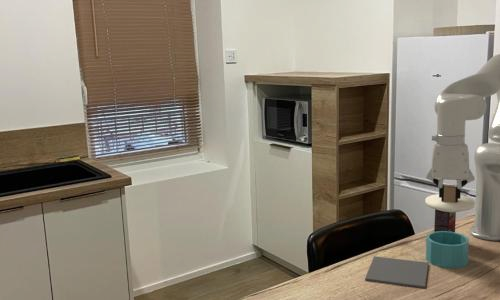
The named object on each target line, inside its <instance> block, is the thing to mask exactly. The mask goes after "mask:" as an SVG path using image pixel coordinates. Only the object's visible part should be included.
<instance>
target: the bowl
mask: <svg viewBox="0 0 500 300" xmlns="http://www.w3.org/2000/svg"><path fill="white" fill-rule="evenodd" d="M425 239H426V240H425V241H426V242H425V244H426V245H425V247H426V248H425V249H426V250H425V260H426V262H428V264H429V263H430V265H434V266H436V267H439V268H445V269H458V268H460V269H461V268H464V267H466V266H467V265H469V251H470V250H469V245H470V244H469V243H470V238H469V237H467V236H466V235H465V234H463V233H458V232H456V231H455V232H448V231H437V232H434V231H432V232H429V233H427V234H426V238H425Z"/></svg>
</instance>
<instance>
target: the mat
mask: <svg viewBox="0 0 500 300" xmlns="http://www.w3.org/2000/svg"><path fill="white" fill-rule="evenodd" d="M428 270H429V262H428V261H418V260H409V259H401V258H394V257H393V258H392V257H385V256H373V258H372V261H371V263H370V265H369V268H368V270H367V273H366V275H365V277H364V281H369V282H374V283H383V284H390V285H397V286H402V287H403V286H405V287H412V288H419V289H420V288H421V289H426V282H427V276H428Z"/></svg>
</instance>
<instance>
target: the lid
mask: <svg viewBox="0 0 500 300" xmlns="http://www.w3.org/2000/svg"><path fill="white" fill-rule="evenodd" d="M443 185H444V201H441V198H439V193H436V194H431V195H429V196H427V197H425V201H424V202H425V205H426V206H427V207H429V208H431V209H433V210H435V209H437V210H440V211H444V212H456V213H460V212H465V211H469V210H472V209H473V208H475V205H476V201H475V200H474V199H473V198H471V197H468V196H466V195H462V194H460V199H458V202H455V196H456V185H457V184H444V183H443Z"/></svg>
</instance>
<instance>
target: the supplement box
mask: <svg viewBox="0 0 500 300" xmlns="http://www.w3.org/2000/svg"><path fill="white" fill-rule="evenodd" d="M456 217H457V212H444V211H440V210H437V209H434V227H433V228H434V229H433V232H437V231H448V232H455V233H456V220H457V219H456Z"/></svg>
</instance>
